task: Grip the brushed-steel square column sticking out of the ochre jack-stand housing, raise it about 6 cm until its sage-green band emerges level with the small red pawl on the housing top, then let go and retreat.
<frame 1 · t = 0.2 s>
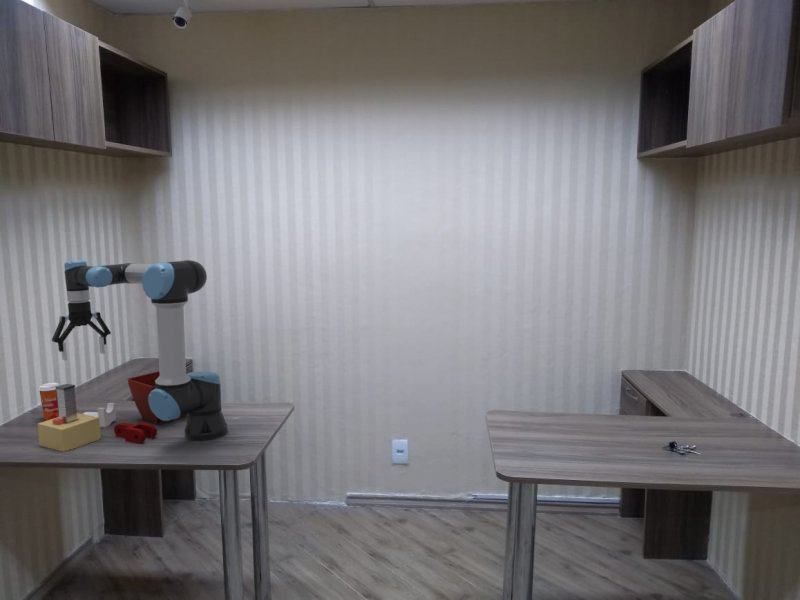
hand: (84, 356, 230), 27 cm above the table, fingers open, 13 cm apart
column: (68, 414, 215), point 10 cm above the table, slide at 0.0 cm
plant pot: (164, 418, 242), on the table
paper cup: (52, 419, 242), on the table
mechanical linkage: (133, 439, 220), on the table
bracket: (95, 424, 236), on the table
housing: (70, 442, 216), on the table
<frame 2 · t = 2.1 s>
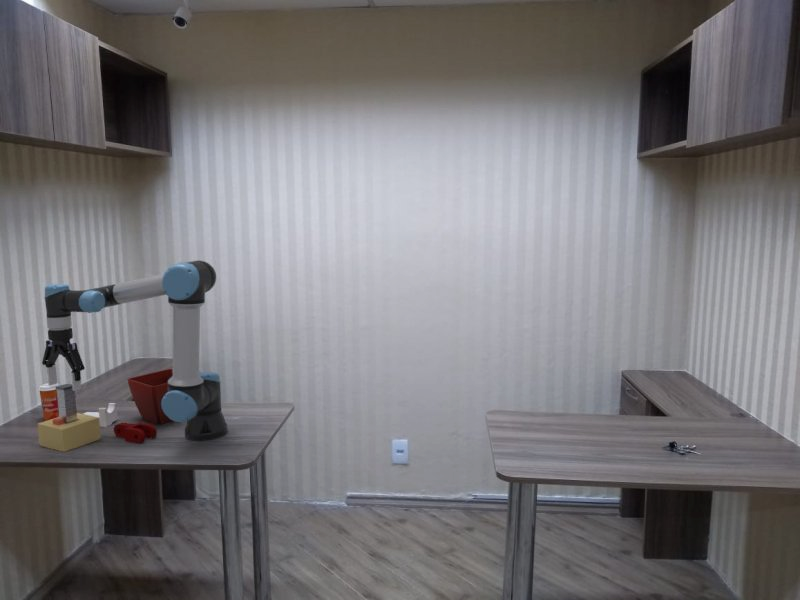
hand: (64, 387, 214), 20 cm above the table, fingers open, 13 cm apart
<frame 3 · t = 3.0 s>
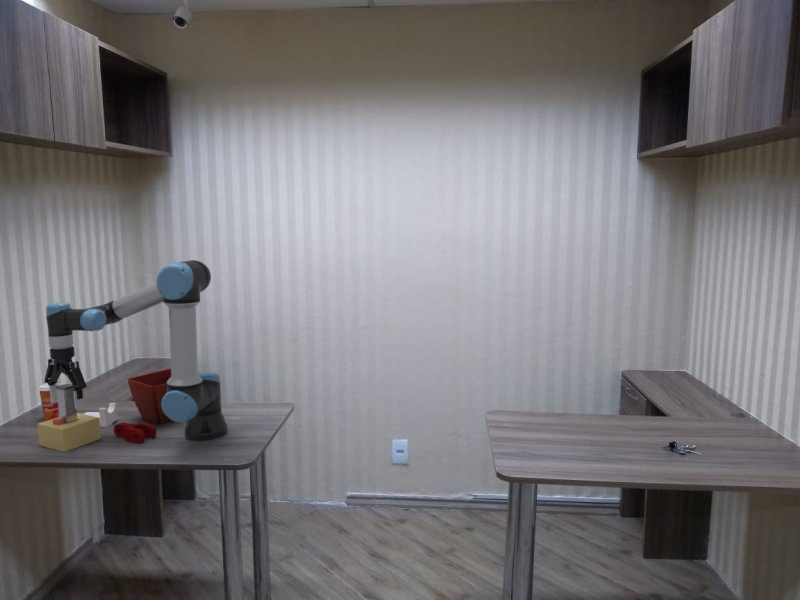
hand: (67, 405, 214), 14 cm above the table, fingers open, 13 cm apart
nothing on the table moved.
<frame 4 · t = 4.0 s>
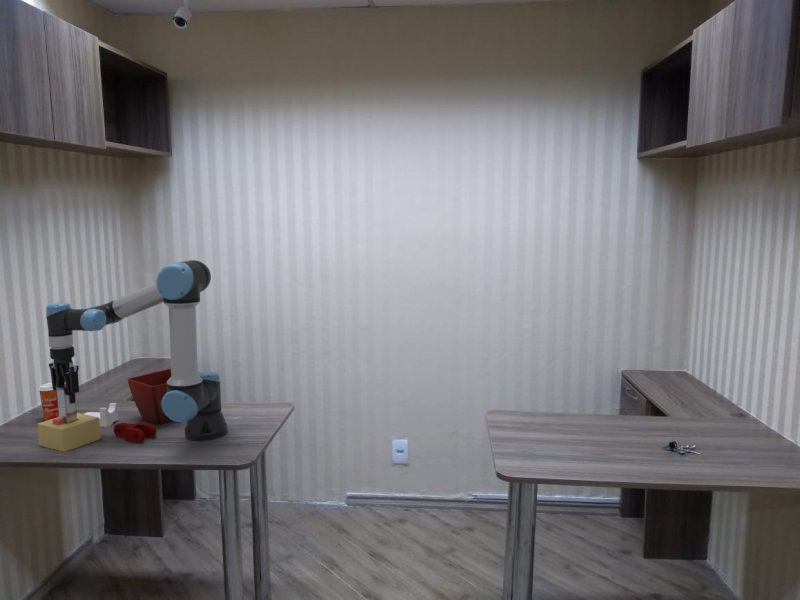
hand: (67, 410, 215), 12 cm above the table, fingers closed on column, 4 cm apart
column: (68, 414, 215), point 10 cm above the table, slide at 0.0 cm, touching gripper
everything else where it was.
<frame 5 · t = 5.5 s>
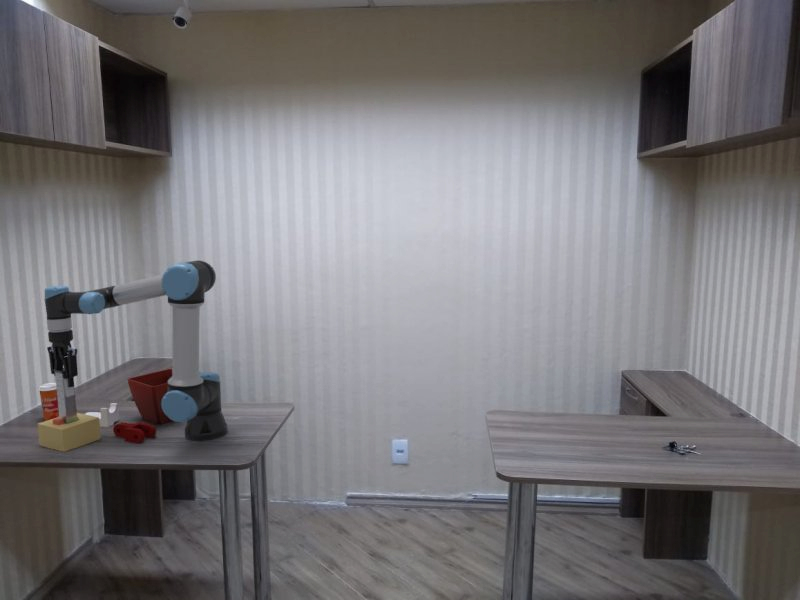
hand: (66, 394, 214), 18 cm above the table, fingers closed on column, 4 cm apart
column: (66, 398, 214), point 16 cm above the table, slide at 6.0 cm, touching gripper
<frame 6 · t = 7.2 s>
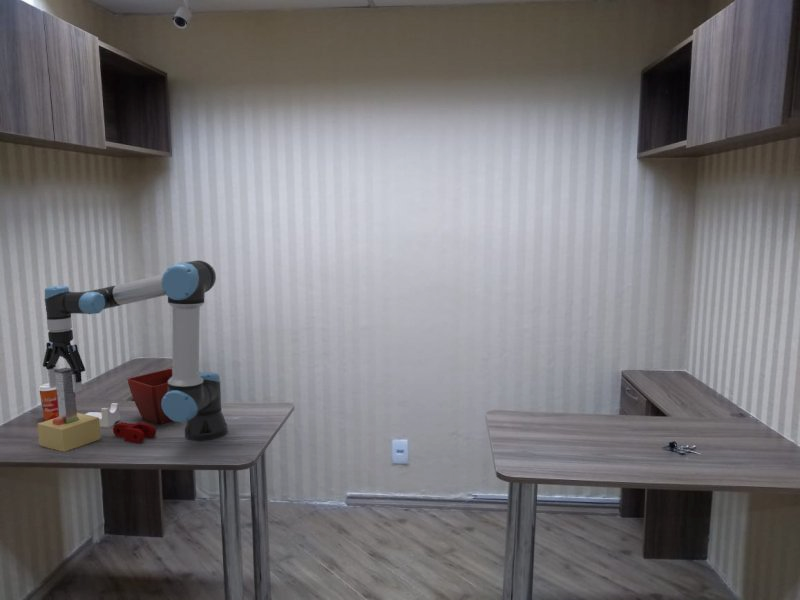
hand: (65, 388, 214), 20 cm above the table, fingers open, 13 cm apart
column: (66, 397, 214), point 16 cm above the table, slide at 6.0 cm
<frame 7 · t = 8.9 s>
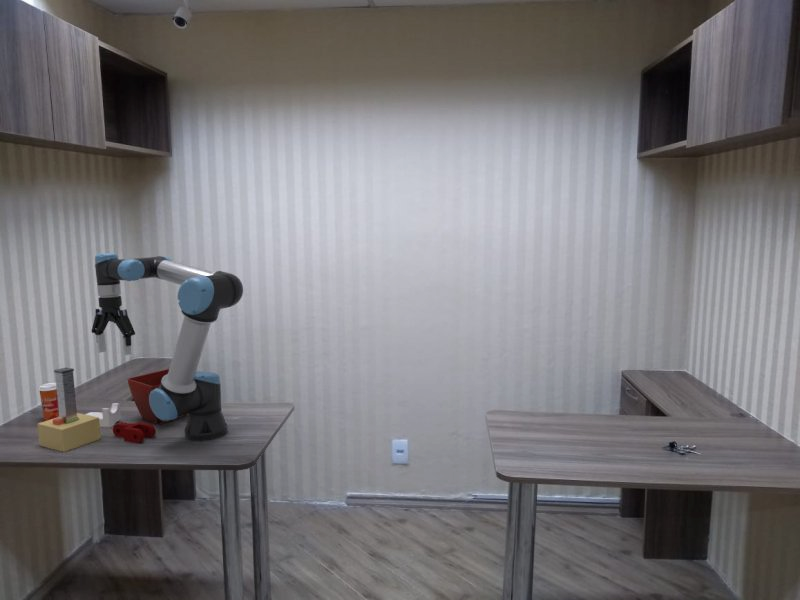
hand: (114, 353, 222), 30 cm above the table, fingers open, 13 cm apart
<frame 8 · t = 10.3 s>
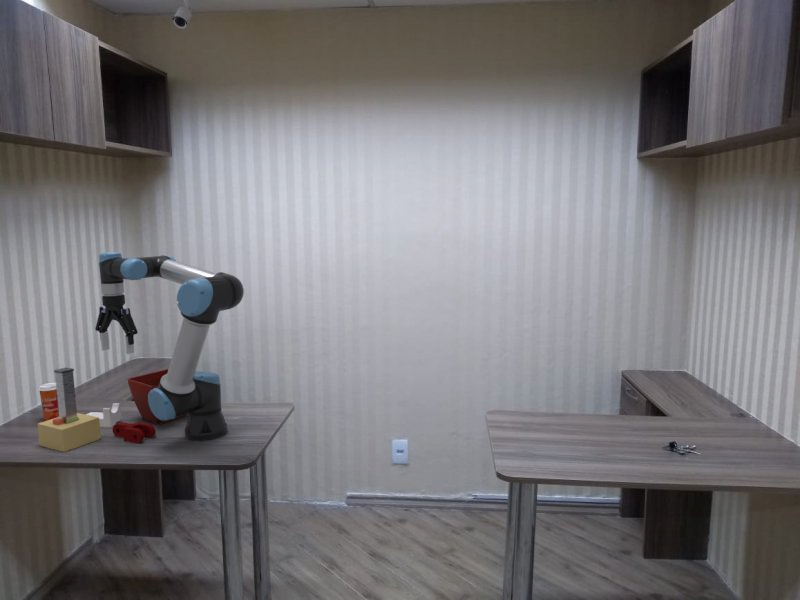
hand: (117, 351, 222), 31 cm above the table, fingers open, 13 cm apart
at the end: column slide at 6.0 cm; the gripper is holding nothing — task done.
